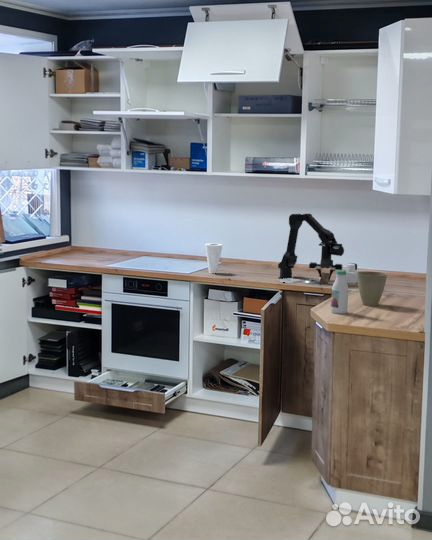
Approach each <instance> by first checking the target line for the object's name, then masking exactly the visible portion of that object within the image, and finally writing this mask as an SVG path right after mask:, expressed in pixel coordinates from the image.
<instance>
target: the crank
mask: <svg viewBox="0 0 432 540" xmlns="http://www.w3.org/2000/svg"><path fill="white" fill-rule="evenodd" d="M319 279H320V276H319V275H318V277H317V278H310V279H304V280H303V281H304V283H308V284H307V285H309V284H318V283H319Z"/></svg>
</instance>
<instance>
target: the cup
mask: <svg viewBox="0 0 432 540" xmlns="http://www.w3.org/2000/svg"><path fill="white" fill-rule="evenodd" d="M204 246H205V253H206V260H207V269H208V274H209V273H217V274H218V269H219V263H220V259H221V254H222V249H223V244H222V243H205V244H204Z"/></svg>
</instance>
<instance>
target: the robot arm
mask: <svg viewBox="0 0 432 540" xmlns="http://www.w3.org/2000/svg"><path fill="white" fill-rule="evenodd" d="M304 221H305V222H306V223H307V224H308V225H309V226H310V227H311V229H313V231H315V232H316V234H317V236H318V238H319V240H320V241H321V242H320V243H319V244H318V246H320V247H321V256H320V258H321V259H320V263H317V262H312V261H311V262H310V263H309V265H308V268H309V269H315V271H317V272H318V277H319V276H320V279H321V277H322V273H323V272H322V269H330V270H329V281H330V280H331V277H332V275H333V273H334V272H335V271H337V270H343V264H342V263H335V264H334V260H333V259H332V256H338V257H342V256H343V255H344V252H345V249H344V246H343V243H338V241H337V239H336V237H335V234H334V233H333V232H332V231H330V230H329V229H326V228H325V227H324V226H323V225H322V224H321V223H319V221H318V220H317V219H316V218H315V217H314V216H313V215H312V213H302V214H301V213H292V214H290V215H289V216H288V225H289V234H288V240H287V244H286V245H287V246H286V251H285V252H284V254H283V255H282V258H281V261H280V262H279V263H278V265H277V268H278V269H279V277H278V279H281V278H284V279H286V278H292V279H293V271H292V269H294V267H295V265H296V264H297V263H298V260H297V259H298V255H296V248H297V241H298V235H299V229H300V228H301V227H302V225H303V222H304Z"/></svg>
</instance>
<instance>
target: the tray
mask: <svg viewBox="0 0 432 540" xmlns="http://www.w3.org/2000/svg"><path fill="white" fill-rule="evenodd" d="M302 281H303V280H302V279H297V278H293V277H292V278H286V279H281V278H279V283H280V282H285V283H284V284H286V283H289V284H290V283H291V284H293V283H294V284H295V283H296V282H302Z"/></svg>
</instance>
